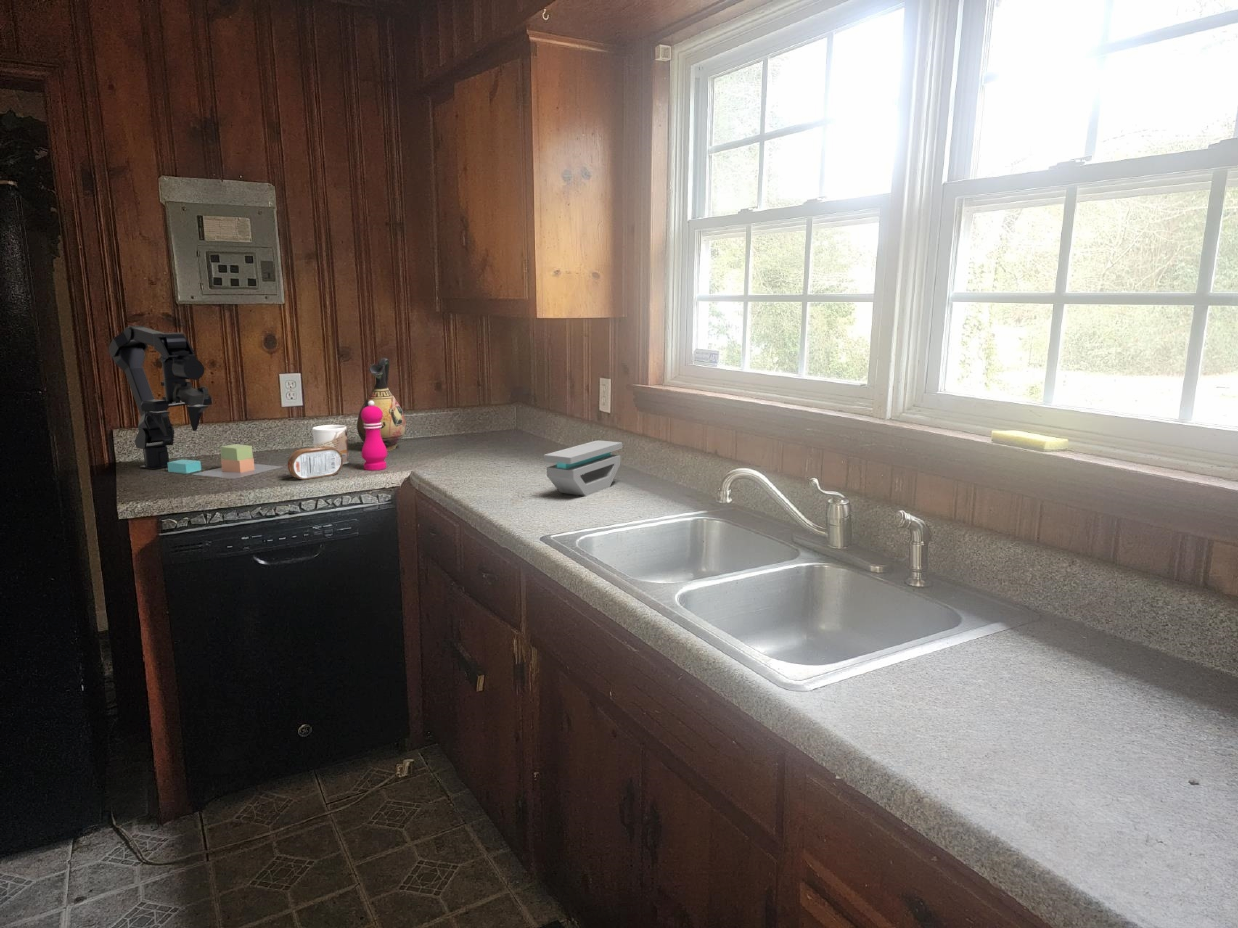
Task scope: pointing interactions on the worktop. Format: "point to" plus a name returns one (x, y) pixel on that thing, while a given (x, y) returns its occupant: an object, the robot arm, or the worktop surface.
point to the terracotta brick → (237, 465)
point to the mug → (332, 438)
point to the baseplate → (233, 475)
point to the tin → (315, 462)
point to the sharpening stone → (584, 467)
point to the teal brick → (184, 466)
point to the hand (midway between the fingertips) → (181, 433)
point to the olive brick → (236, 452)
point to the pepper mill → (373, 438)
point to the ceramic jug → (384, 408)
